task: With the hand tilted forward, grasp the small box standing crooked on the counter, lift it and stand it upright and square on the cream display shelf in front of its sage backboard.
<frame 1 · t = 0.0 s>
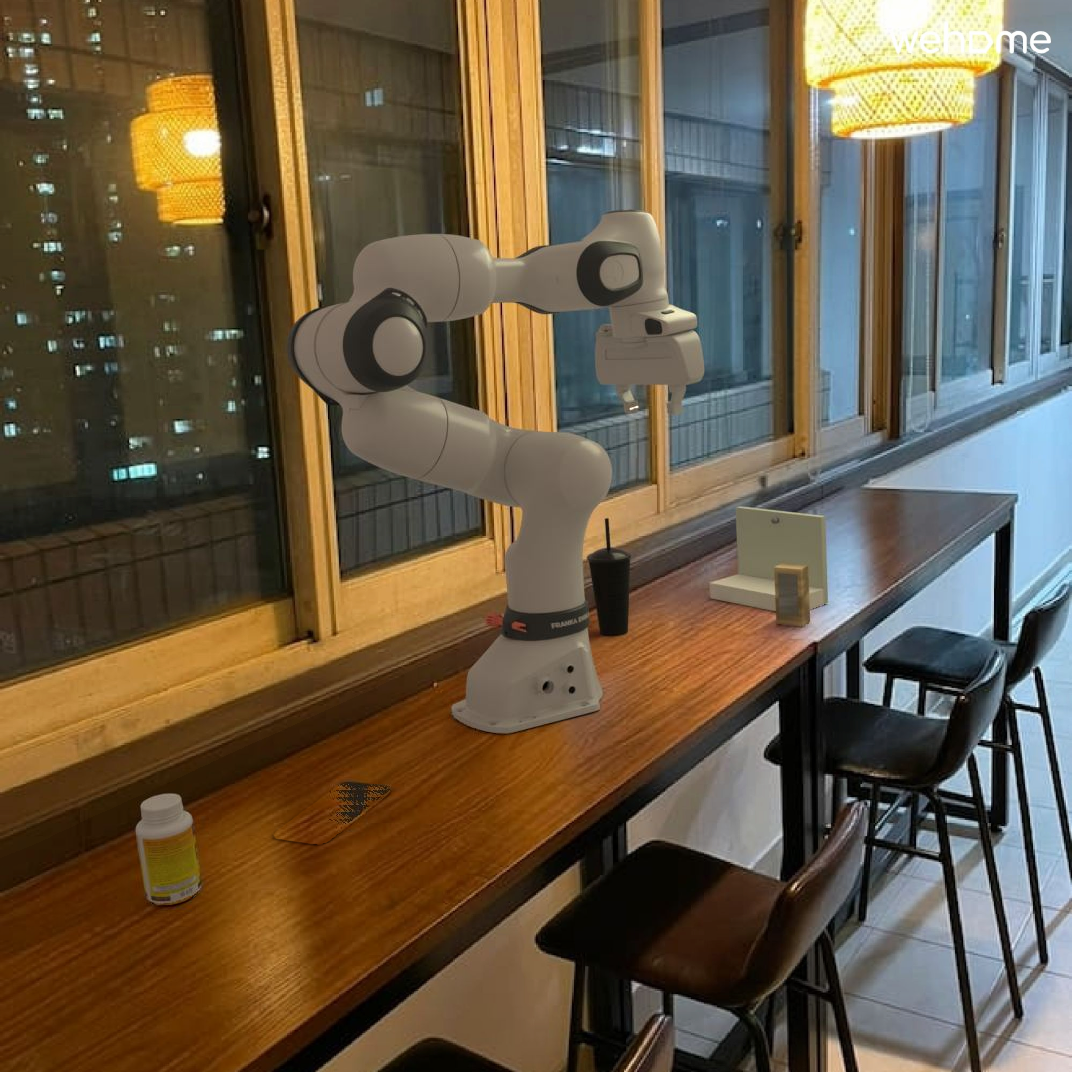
hand: (653, 413, 173), 39 cm above the bar counter, tool pointing down, fingers open, 8 cm apart
phone: (334, 817, 133), on the bar counter
small box: (793, 623, 194), on the bar counter
shelf: (765, 601, 209), on the bar counter
drinking cup: (614, 633, 197), on the bar counter
supplement bottle: (175, 896, 117), on the bar counter
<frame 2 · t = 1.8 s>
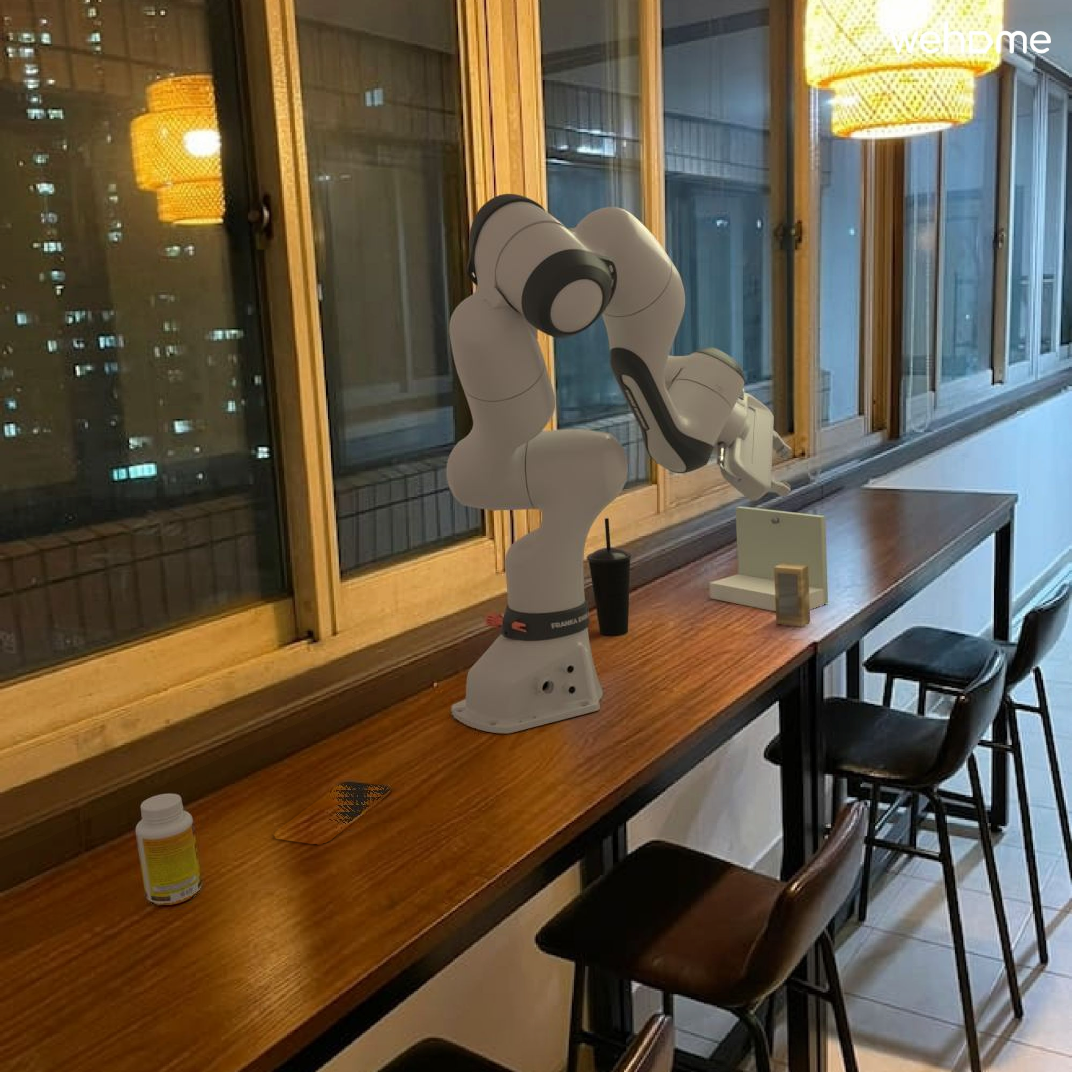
hand: (788, 473, 180), 27 cm above the bar counter, tool tilted 50°, fingers open, 8 cm apart
nothing on the bar counter moved.
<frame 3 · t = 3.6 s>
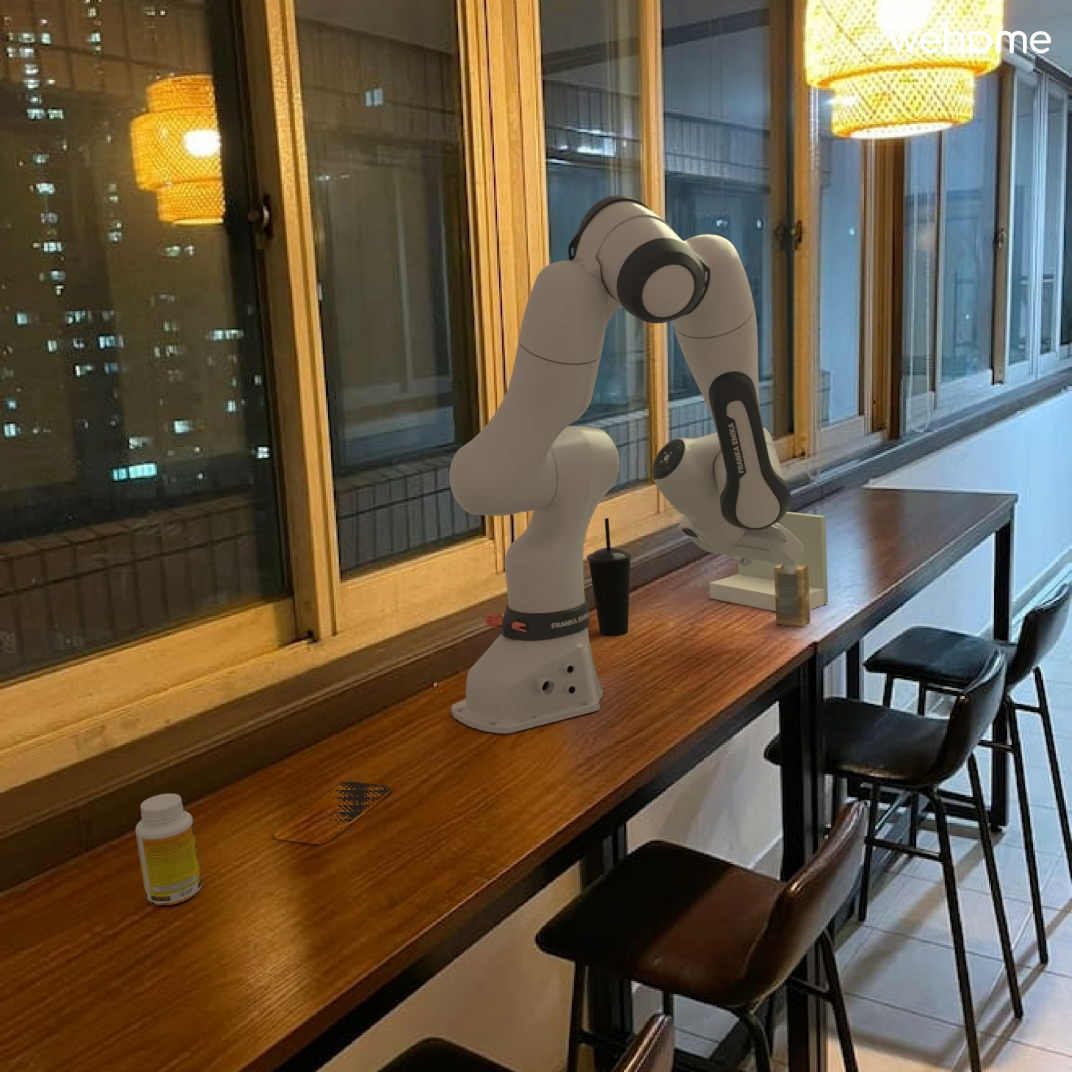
hand: (769, 566, 186), 12 cm above the bar counter, tool tilted 45°, fingers open, 8 cm apart
nothing on the bar counter moved.
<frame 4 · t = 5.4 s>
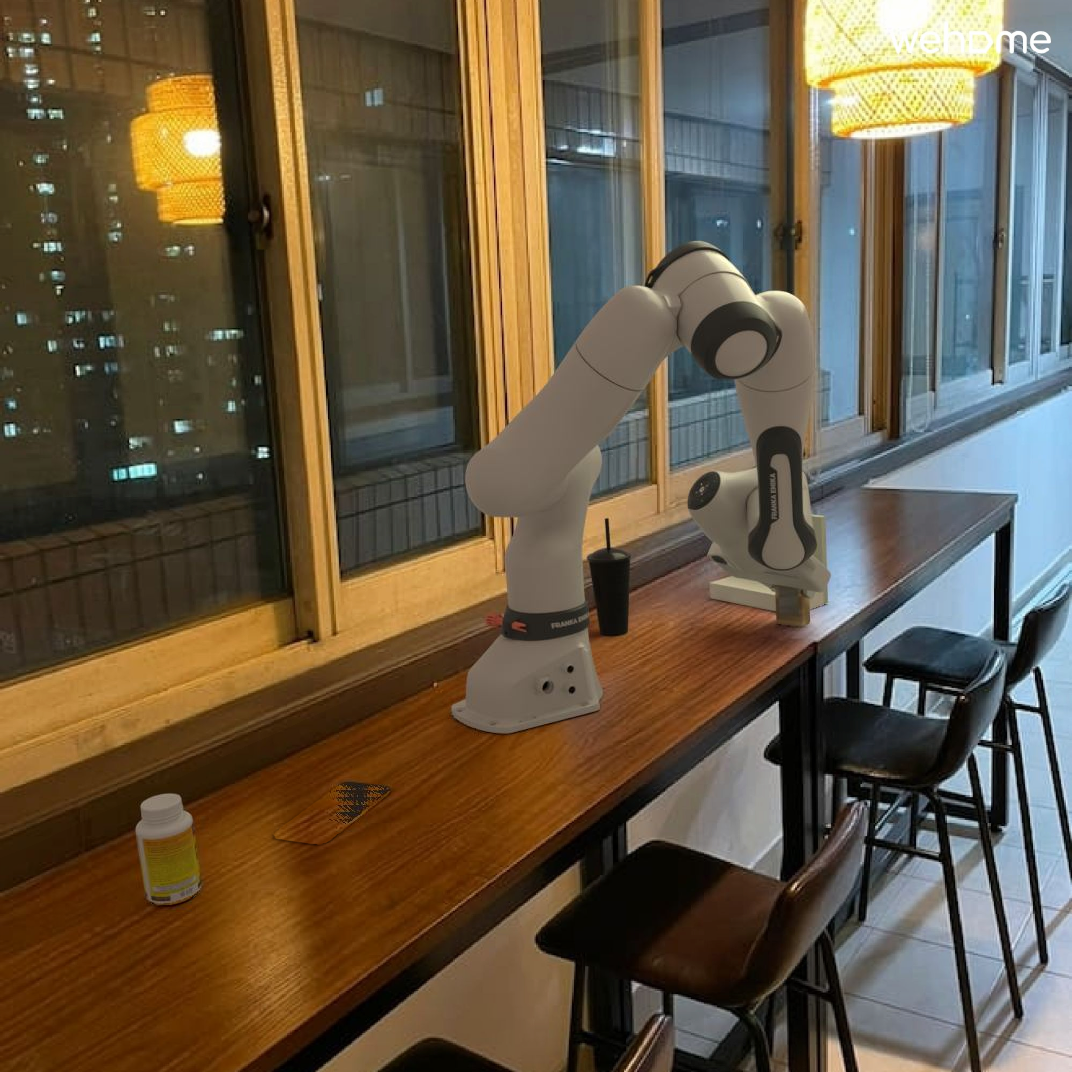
hand: (794, 591, 193), 5 cm above the bar counter, tool tilted 45°, fingers closed on small box, 5 cm apart
small box: (793, 623, 194), on the bar counter, touching gripper
everything else where it was.
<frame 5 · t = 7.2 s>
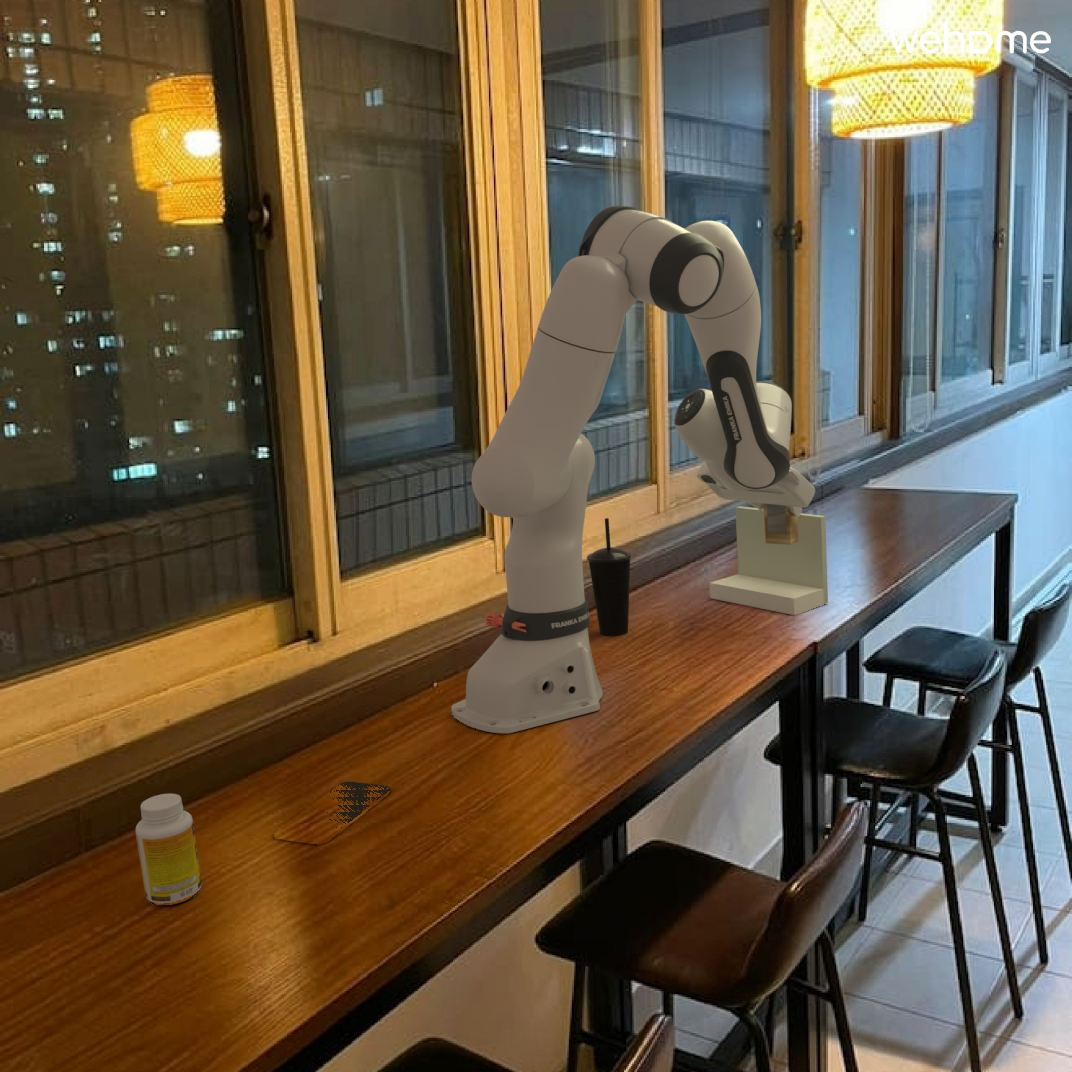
hand: (782, 511, 199), 18 cm above the bar counter, tool tilted 45°, fingers closed on small box, 5 cm apart
small box: (782, 542, 200), point 12 cm above the bar counter, touching gripper
everything else where it was.
when the fingers open (10 cm above the bar counter, at t = 9.5 s): small box drops 1 cm, resting on shelf.
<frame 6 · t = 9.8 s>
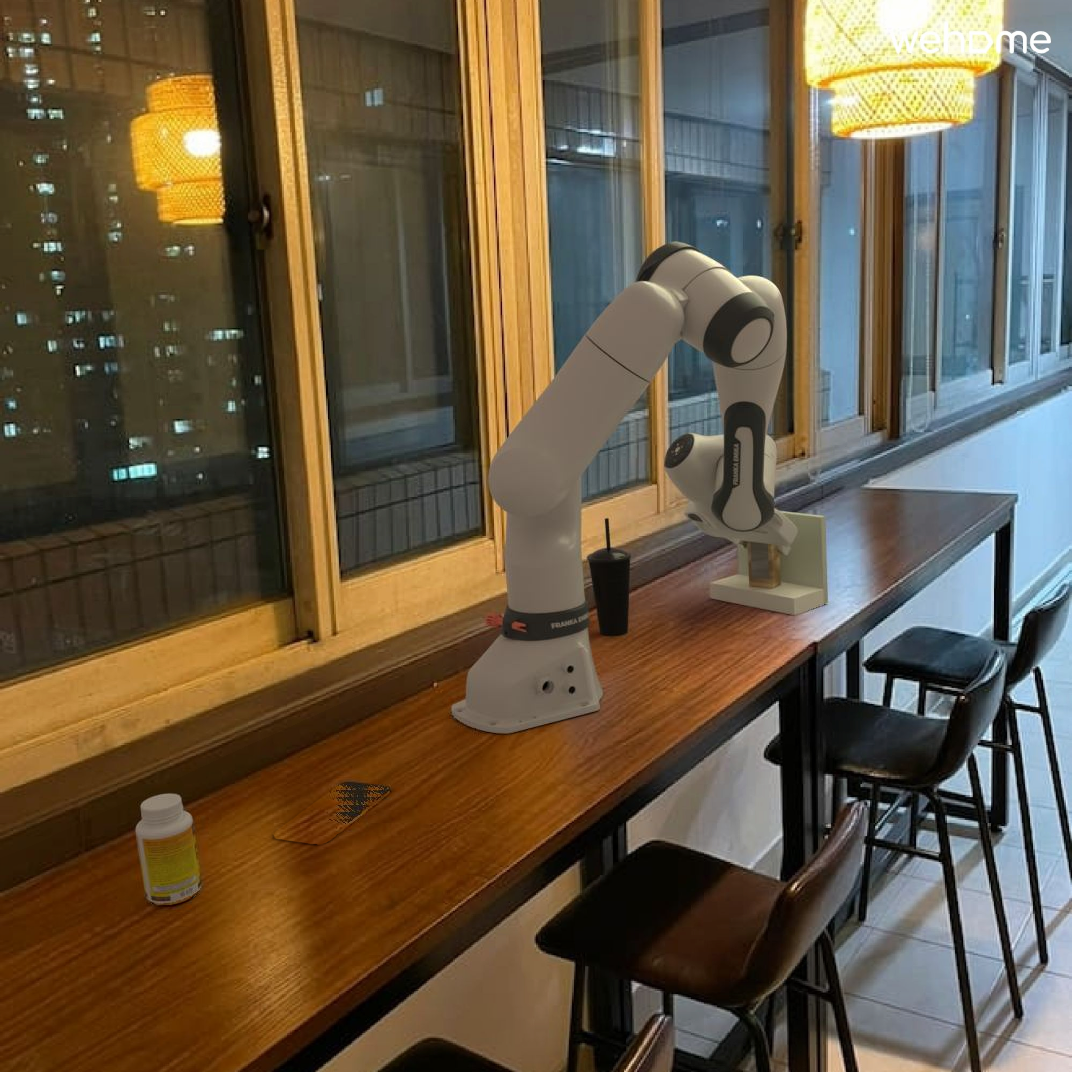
hand: (765, 548, 207), 10 cm above the bar counter, tool tilted 45°, fingers open, 8 cm apart
small box: (765, 585, 208), point 3 cm above the bar counter, touching shelf
everything else where it was.
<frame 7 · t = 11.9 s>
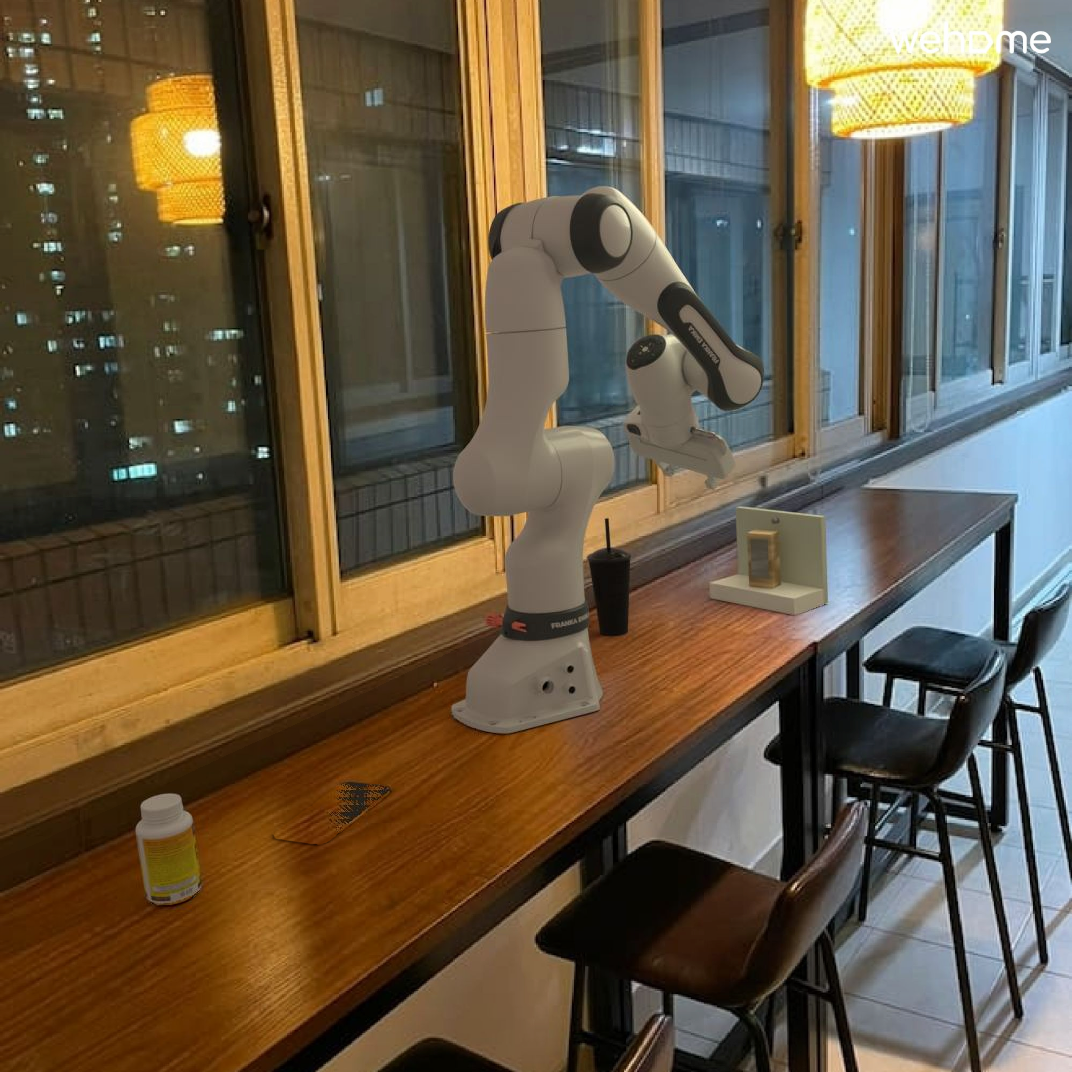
hand: (691, 480, 201), 24 cm above the bar counter, tool tilted 35°, fingers open, 8 cm apart
nothing on the bar counter moved.
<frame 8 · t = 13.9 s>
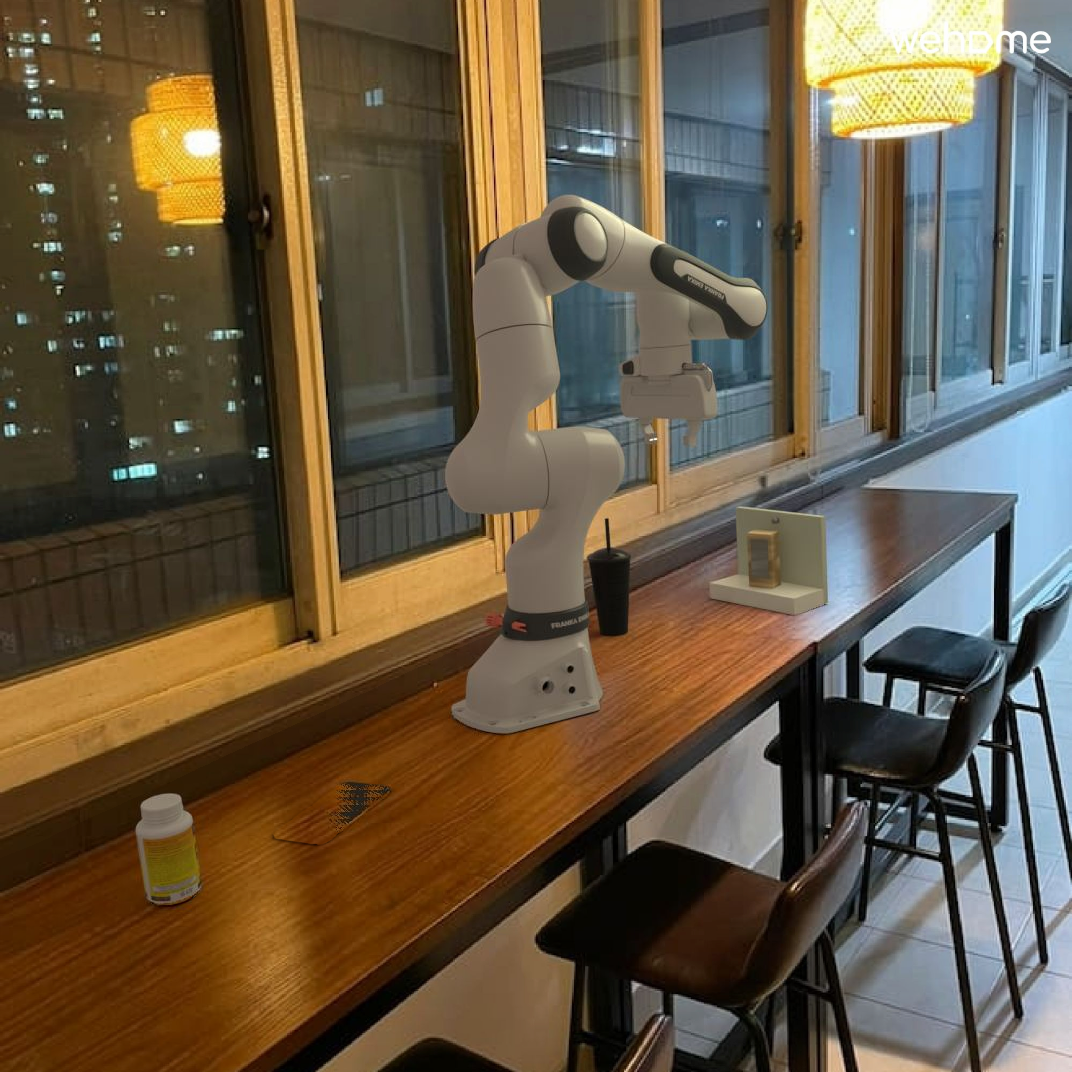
hand: (670, 445, 195), 31 cm above the bar counter, tool pointing down, fingers open, 8 cm apart
nothing on the bar counter moved.
at the end: small box inside the target area on the shelf (0.5 cm from its centre), point 3.0 cm above the shelf's base; small box tilted 0°; the gripper is holding nothing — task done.
